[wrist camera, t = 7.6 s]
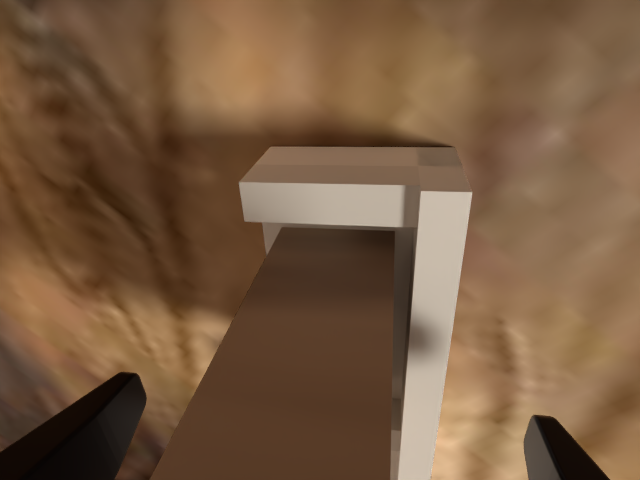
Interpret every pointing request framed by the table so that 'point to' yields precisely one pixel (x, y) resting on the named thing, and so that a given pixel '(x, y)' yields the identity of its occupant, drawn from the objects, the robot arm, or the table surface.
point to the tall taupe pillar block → (299, 369)
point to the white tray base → (409, 258)
